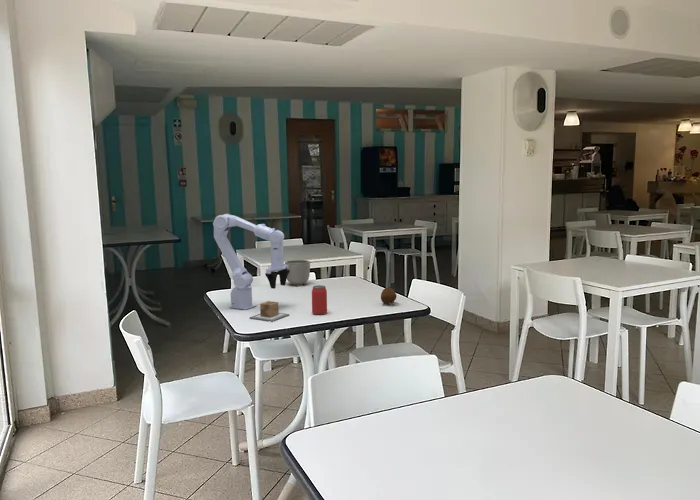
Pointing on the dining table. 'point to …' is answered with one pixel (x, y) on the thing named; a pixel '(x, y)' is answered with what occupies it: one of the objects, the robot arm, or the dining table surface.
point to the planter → (298, 271)
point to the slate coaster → (259, 317)
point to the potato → (388, 295)
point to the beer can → (319, 300)
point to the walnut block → (269, 309)
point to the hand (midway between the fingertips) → (278, 286)
